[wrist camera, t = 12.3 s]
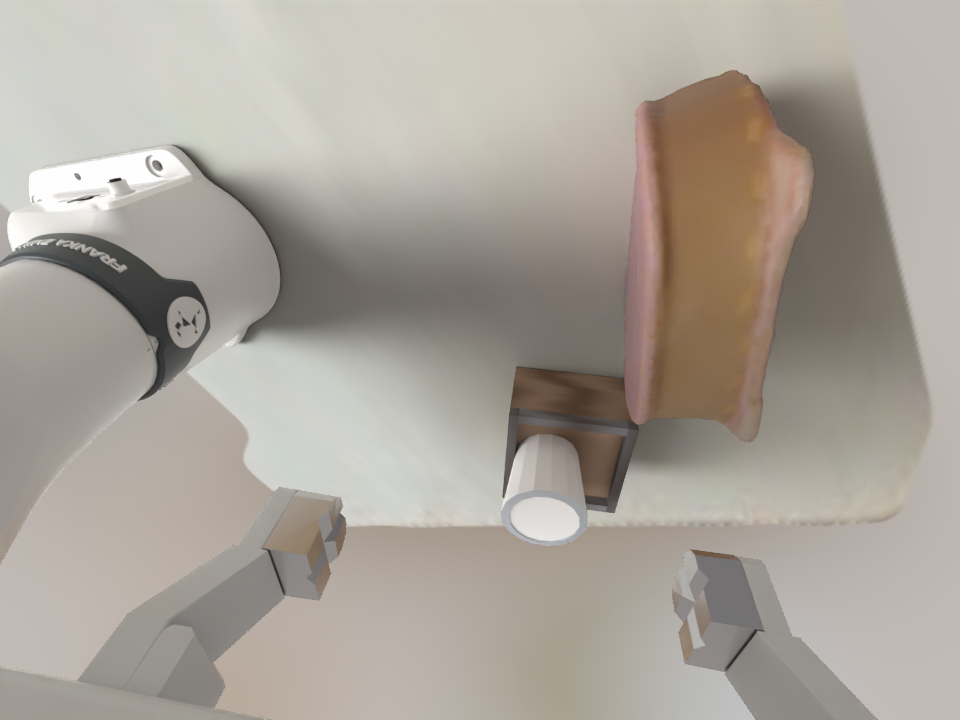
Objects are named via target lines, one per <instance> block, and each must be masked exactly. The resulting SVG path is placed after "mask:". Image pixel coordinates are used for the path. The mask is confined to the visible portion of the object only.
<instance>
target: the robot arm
mask: <svg viewBox="0 0 960 720" xmlns="http://www.w3.org/2000/svg"><path fill="white" fill-rule="evenodd" d="M158 161H159V162H160V163H161V164H162V167H163V168H162V167H161V166H160V165H159V163H158ZM29 193H30V199H31V204H30V205H27V206H24V207H22V208H19V209H17V210H15V211H13V212H12V213H11V214H10V216H9V219H8V225H7V231H8V237H9V241H10V245H11V248H12V251H13V252H12V253H11V254H10V255H8V256H7V257H6V258H5V259H3V260H2V261H1V262H0V565H1V563H2V561H3V559H4V558H5V556H6V554H7V552H8V550H9V548H10V547H11V545H12V543H13V541H14V540H15V538H16V536H17V535H18V532H19V531H20V529H21V528H22V526H23V524H24V523H25V521H26V519H27V518H28V516H29V515H30V513H31V511H32V510H33V509H34V507H35V505H36V504H37V503H38V501H39V500H40V498H41V497H42V496H43V494H44V493H45V492H46V490H47V489H48V487H49V486H50V485H51V483H52V482H53V481H54V480H55V479H56V478H57V476H58V475H59V474H60V473H61V472H62V470H63V469H64V468H65V467H66V466H67V465H68V464H69V463H70V462H71V461H72V460H73V459H74V458H75V457H76V456H77V455H78V454H79V453H80V452H81V451H82V450H84V448H86V446H87V445H89V444H90V443H91V442H92V441H93V440H94V439H95V438H96V437H97V436H98V435H99V434H100V433H102V432H103V431H104V430H105V429H106V428H107V427H108V426H109V425H110V424H111V423H112V422H114V421H115V420H116V419H117V418H118V417H119V416H120V415H121V414H122V413H123V412H125V411H126V410H127V409H128V408H129V407H130V406H131V405H133V404H134V403H135V402H136V401H139V400H143V399H145V398H148V397H150V396H151V395H153V394H154V393H156V392H157V391H158V390H160V389H161V388H162V387H165V386H167V385H168V384H169V383H170V382H171V381H173V378H174V377H175V376H176V375H177V374H180V373H184V372H186V371H188V370H190V369H191V368H192V367H194V366H195V365H197V364H198V363H200V362H201V361H202V360H204V359H205V358H207V357H208V356H209V355H211V354H212V353H214V352H215V351H216V350H218V349H219V348H221V347H222V346H225V347H233V346H234V345H236V344H237V343H239V342H240V341H241V340H242V339H243V337H244V336H245V333H246V331H247V329H248V327H249V326H250V325H251V324H252V323H254V322H255V321H257V320H258V319H260V318H262V317H263V316H264V315H266V314H267V313H268V312H269V311H270V310H271V308H272V307H273V305H274V304H275V302H276V299H277V297H278V294H279V289H280V270H279V264H278V260H277V257H276V254H275V251H274V249H273V246H272V244H271V242H270V240H269V238H268V237H267V235H266V233H265V232H264V230H263V229H262V227H261V226H260V224H259V223H258V222H257V220H256V219H255V218H254V217H253V216H252V214H251V213H250V212H249V211H248V210H247V209H246V208H245V207H244V206H243V205H242V204H241V203H239V202H238V201H237V200H236V199H235V198H233V197H232V196H231V195H229V194H228V193H227V192H225V191H224V190H222V189H221V188H219V187H218V186H216V185H215V184H213V183H212V182H211V181H209V180H208V179H207V178H206V177H205V176H204V175H203V174H202V173H201V171H200V170H199V169H198V168H197V166H196V165H195V164H194V163H193V162H192V161H191V159H190V158H189V157H188V156H187V155H186V154H185V153H184V152H183V151H181V150H180V149H179V148H177V147H175V146H171V145H166V146H160V147H154V148H149V149H143V150H138V151H132V152H127V153H121V154H115V155H110V156H104V157H99V158H93V159H88V160H82V161H76V162H71V163H65V164H60V165H54V166H49V167H44V168H41V169H38V170H36V171H33V172H32V173H31V174H30V177H29ZM342 507H343V504H342V500H341V497H336V496H330V495H324V494H318V493H312V492H306V491H301V490H295V489H288V488H282V487H279V488H278V489H277V490H276V491H274V492H273V493H272V495H271V497H270V498H269V500H268V501H267V503H266V505H265V506H264V508H263V509H262V511H261V512H260V514H259V516H258V517H257V519H256V520H255V522H254V523H253V525H252V526H251V528H250V530H249V531H248V533H247V534H246V536H245V537H244V539H243V541H242V542H241V544H240V545H232V546H231V547H229V548H228V549H226V550H225V551H223V552H222V553H220V554H218V555H217V556H215V557H214V558H212V559H211V560H209V561H208V562H206V563H205V564H203V565H202V566H200V567H198V568H197V569H195V570H194V571H192V572H191V573H189V574H188V575H187V576H185V577H183V578H182V579H180V580H179V581H177V582H175V583H174V584H172V585H171V586H169V587H168V588H166V589H165V590H163V591H162V592H160V593H159V594H157V595H155V596H154V597H152V598H151V599H149V600H148V601H146V602H145V603H143V604H142V605H140V606H139V607H137V608H136V609H134V610H132V611H131V612H129V613H128V614H127V615H126V616H125V618H124V619H123V621H122V622H121V623H120V624H119V626H118V627H117V628H116V630H115V631H114V632H113V634H112V635H111V636H110V638H109V639H108V640H107V642H106V643H105V644H104V646H103V647H102V648H101V650H100V651H99V653H98V654H97V655H96V656H95V658H94V659H93V660H92V662H91V663H90V664H89V666H88V667H87V668H86V670H85V671H84V672H83V674H82V675H81V676H80V678H79V679H78V680H77V681H75V680H69V679H65V678H59V677H54V676H50V675H45V674H40V673H34V672H29V671H24V670H19V669H14V668H9V667H4V666H0V720H271V719H266V718H261V717H255V716H250V715H246V714H240V713H236V712H231V711H225V710H220V709H215V706H216V704H217V702H218V700H219V698H220V696H221V694H222V692H223V690H224V688H225V683H224V679H223V678H222V676H221V674H220V673H219V671H218V670H217V668H216V666H215V665H214V663H213V662H214V661H215V660H216V659H218V657H220V656H221V655H222V654H223V653H224V652H225V651H226V650H228V649H229V648H230V647H231V646H232V645H233V644H234V643H235V642H236V641H237V640H239V639H240V638H241V637H242V636H243V635H244V634H245V633H246V632H247V631H248V630H250V629H251V628H252V627H253V626H254V625H255V624H256V623H257V622H258V621H260V620H261V619H262V618H263V617H264V616H265V615H266V614H267V613H268V612H269V611H270V610H272V609H273V608H274V607H275V606H276V605H277V604H278V603H279V602H281V600H283V599H284V596H291V597H298V598H305V599H312V600H320V598H321V596H322V593H323V591H324V589H325V586H326V584H327V582H328V579H329V577H330V575H331V572H330V568H329V563H330V562H332V561H333V560H335V559H336V558H337V557H338V556H339V554H340V551H341V549H342V547H343V543H344V539H345V535H346V520H345V517H344V516H343V515H342V514H341V513H340V511H341V509H342ZM683 561H684V566H683V567H681V568H679V569H677V571H676V574H675V576H674V578H673V587H672V597H673V604H674V611H675V613H676V614H677V615H678V616H679V618H680V619H681V620H682V621H683V625H682V627H681V629H680V631H679V637H680V642H681V647H682V652H683V657H684V662H685V664H688V665H693V666H698V667H703V668H709V669H713V670H718V671H723V672H726V673H725V675H726V677H727V678H728V679H729V681H730V682H731V684H732V685H733V687H734V688H735V690H736V691H737V693H738V694H739V696H740V697H741V698H742V700H743V702H744V703H745V704H746V706H747V708H748V709H749V710H750V712H751V713H752V715H753V716H754V718H755V719H756V720H878V719H877V718H876V717H875V716H874V715H873V714H872V713H871V712H870V711H869V710H868V709H867V708H866V707H865V706H864V705H863V704H862V703H861V702H860V701H859V699H858V698H857V697H856V696H855V695H854V694H853V693H852V692H851V691H850V690H849V689H848V688H847V687H846V686H845V685H844V684H843V683H842V682H841V681H840V680H839V679H838V677H837V676H836V675H835V674H834V673H833V672H832V671H831V670H830V669H829V668H828V667H827V666H826V665H825V664H824V663H823V662H822V661H821V660H820V659H819V658H818V657H817V655H816V654H815V653H814V652H813V651H812V650H811V649H810V648H809V647H808V646H807V645H806V644H805V643H804V642H803V641H802V640H801V639H800V638H797V637H793V636H792V634H791V632H790V629H789V627H788V624H787V621H786V619H785V616H784V613H783V611H782V608H781V606H780V603H779V601H778V598H777V595H776V592H775V590H774V587H773V585H772V582H771V580H770V577H769V574H768V572H767V569H766V566H765V565H764V563H763V562H761V560H758V559H752V558H744V557H736V556H734V555H727V554H720V553H713V552H706V551H698V550H688V551H686V553H685V555H684V557H683Z"/></svg>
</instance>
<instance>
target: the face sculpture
mask: <svg viewBox="0 0 960 720" xmlns="http://www.w3.org/2000/svg"><path fill="white" fill-rule="evenodd" d="M636 143H637V172H636V179H635V186H634V197H633V205H632V216H631V233H630V248H629V261H628V270H627V290H626V315H625V360H624V383H625V394H626V404H627V407H628V411H629V414H630V417H631V420H632V421H633V422H634V423H636V424H637V425H642V424H644V423H646V422H648V421H649V420H651V419H654V418H665V419H668V418H702V419H710V420H717V421H719V422H721V423H723V424H725V425H726V426H727V427H728V428H729V429H730V430H731V431H732V432H733V433H734V434H735V435H736V436H737V437H738V438H740V439H741V440H743V441H746V442H751V441H753V440H754V439H755V438H756V436H757V434H758V429H759V425H760V419H761V414H762V408H763V401H762V387H763V381H764V378H765V373H766V367H767V362H768V358H769V354H770V350H771V346H772V342H773V339H774V334H775V319H776V313H777V308H778V304H779V300H780V295H781V291H782V286H783V280H784V276H785V272H786V269H787V266H788V263H789V259H790V254H791V250H792V248H793V245H794V243H795V240H796V238H797V237H798V235H799V233H800V232H801V230H802V228H803V226H804V224H805V222H806V220H807V217H808V213H809V210H810V205H811V201H812V196H813V184H814V179H815V171H814V165H813V158H812V155H811V153H810V151H809V150H808V148H807V147H804V146H801V145H800V144H798V143H797V141H796V140H795V139H794V138H793V137H790V136H788V135H786V134H785V133H784V132H783V131H782V130H781V129H779V126H778V123H777V121H776V119H775V118H774V115H773V113H772V110H771V107H770V106H769V103H768V101H767V99H766V98H765V96H764V95H763V93H762V91H761V89H760V87H759V85H757V84H754V83H752V82H751V81H750V79H749V77H748V76H747V75H743V74H742V73H739V72H738V71H736V70H730V71H728V72H725V73H723V74H721V75H720V76H716V77H712V78H707V79H704V80H702V81H699V82H696V83H694V84H691V85H689V86H687V87H684V88H682V89H680V90H678V91H676V92H674V93H672V94H670V95H668V96H666V97H664V98H662V99H659V100H656V101H645V102H643V103H641V105H640V106H639V107H638V108H637V110H636Z"/></svg>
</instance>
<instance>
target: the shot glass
mask: <svg viewBox="0 0 960 720" xmlns="http://www.w3.org/2000/svg"><path fill="white" fill-rule="evenodd" d="M501 515H502V522H503V524H504V525H505V526H506V528H507V529H508V530H509V532H510V533H512V534H513V535H515V536H516V537H518V538H519V539H521V540H523V541H526V542H530V543H533V544H536V545H547V546H548V545H549V546H555V545H561V544H566V543H569V542H571V541H573V540H575V539H577V538H578V537H580V536H581V535H582V533H583V532H584V531H585V529H586V528H587V517H588V516H587V510H586V503H585V497H584V490H583V484H582V478H581V471H580V465H579V458H578V453H577V451H576V449H575V448H574V446H573V444H571V443H570V442H569V441H567V440H566V439H565V438H562V437H559V436H556V435H553V434H537V435H534V436H530V437H528V438H526V439H525V440H524V441H522V442H521V443H520V444H519V446H518V448H517V450H516V454H515V458H514V462H513V466H512V470H511V474H510V478H509V482H508V486H507V490H506V494H505V498H504V502H503V506H502V510H501Z"/></svg>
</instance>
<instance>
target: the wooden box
mask: <svg viewBox="0 0 960 720" xmlns="http://www.w3.org/2000/svg"><path fill="white" fill-rule="evenodd" d="M638 431H639V429H638V425H637V424H636V423H634V422H633V421H632V420H631V417H630V414H629V411H628V407H627V404H626V394H625V383H624V379H623V378H614V377H604V376H595V375H586V374H577V373H568V372H559V371H549V370H540V369H531V368H522V367H516V374H515V380H514V387H513V394H512V400H511V407H510V413H509V424H508V437H507V449H506V461H505V473H504V486H503V498H505V494H506V490H507V486H508V482H509V478H510V474H511V470H512V466H513V462H514V458H515V454H516V450H517V448H518V446H519V444H520V443H521V442H522V441H524V440H525V439H526V438H528V437H530V436H534V435H537V434H553V435H556V436H559V437H562V438H565V439H566V440H567V441H569V442H570V443H571V444H573V446H574V448H575V449H576V451H577V453H578V458H579V465H580V471H581V478H582V484H583V490H584V497H585V503H586V509H587V510H595V511H602V512H609V513H615V509H616V506H617V503H618V499H619V496H620V492H621V489H622V486H623V482H624V479H625V475H626V472H627V469H628V465H629V462H630V458H631V455H632V452H633V448H634V445H635V441H636V438H637V435H638Z"/></svg>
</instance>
